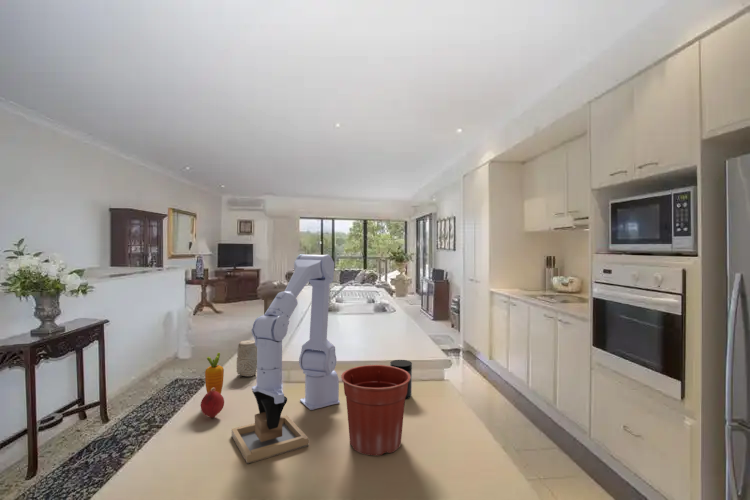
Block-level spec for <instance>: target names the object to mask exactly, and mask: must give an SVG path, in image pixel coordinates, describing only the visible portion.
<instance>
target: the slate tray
mask: <svg viewBox="0 0 750 500" xmlns="http://www.w3.org/2000/svg"><path fill="white" fill-rule="evenodd" d="M281 416H282V436H281V437H278V438H274V439H270V440H267V441H263V442H261V441H260V440H259V438H258V437H257V435H256V434H255V422H254V423H251V424H246V425H241V426H238V427H233V428H231V438H232V439H233V442H234V444H235V445H236V448H237V449H238V450H239V453H240V454H241V455H242V457H243V459H244V460H245V463H246V464H247V465H248V464H252V463H255V462H258V461H262V460H265V459H268V458H272V457H275V456H279V455H282V454H285V453H288V452H292V451H296V450H299V449H302V448H306V447H308V446H309V437H308V436H307V435H306V433H305V432H304V431H302V429H301V428H300V427H298V425H297V424H296V423H295V422H294V421H293V420H292V419H291V418H290V417H289V415H287V414H286V415H281Z"/></svg>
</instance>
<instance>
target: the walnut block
mask: <svg viewBox="0 0 750 500" xmlns="http://www.w3.org/2000/svg"><path fill="white" fill-rule="evenodd" d="M282 416H283V415H281V416H280V420H279V424H278V427H277V428H274V429H268V426H267V419H266V413H265V412H263V413H259V412H258V413H255V414H254V423H255V434H256V435H257V437H258V438H259V440H260V441H261V442H263V441H267V440H270V439H274V438H278V437H281V436H282Z"/></svg>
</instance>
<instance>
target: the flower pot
mask: <svg viewBox="0 0 750 500" xmlns="http://www.w3.org/2000/svg"><path fill="white" fill-rule="evenodd" d="M340 378H341V379H340V380H341V381H342V384H343V392H344V396H345V398H346V399H345V400H346V410H347V421H348V422H347V423H348V435H349V444H350V445H351V446H352V448H353V450H354V451H356V452H358V453H360V454H363V455H367V456H383V454H385V453H387V454H388V453H389V454H392V453H394V452H395V451H397V450H398V449H399V448H400V446H401V444H402V434H403V425H404V424H403V423H404V414H405V403H406V400H405V397H406V395H407V388H408V382H409V381H410V378H411V376H410V374H409V373H408V372H407V371H405V370H403V369H400V368H397V367H392V366H390V365H383V364H367V365H360V366H354V367H351V368H348V369H346V370H345V371H343V372H342V373H341V374H340Z"/></svg>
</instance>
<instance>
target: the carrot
mask: <svg viewBox="0 0 750 500" xmlns="http://www.w3.org/2000/svg"><path fill="white" fill-rule="evenodd" d="M220 356H221V353H220V352H217V354H216V356H215V358H214V359H212V358H211V357H210V356H207V357H206V360H207V361H208V363H209V364H210V365H209V366H208V367H207V368H205V371H204V377H205V378H204V380H205V390H206V394H207V393H208V392H210V390H211V389H212V388H216V390H215V391H217V392H219V393H220V394H221V395H222V391H223V385H224V376H225V374H224V371H225V369H224V367H223V366H221V365H218V363H219V361H220Z"/></svg>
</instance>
